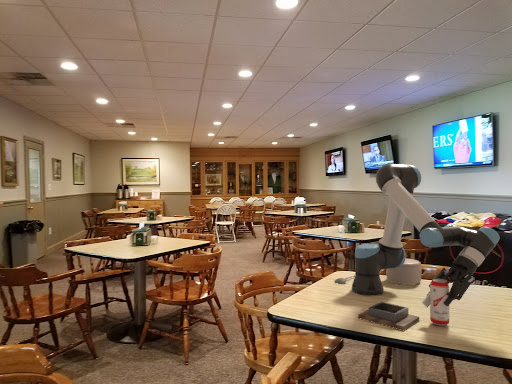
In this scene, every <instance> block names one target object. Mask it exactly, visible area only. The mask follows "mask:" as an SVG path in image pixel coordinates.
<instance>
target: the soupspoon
mask: <svg viewBox="0 0 512 384" xmlns="http://www.w3.org/2000/svg"><path fill="white" fill-rule="evenodd" d="M351 278H355V275H353V276H348V277H345V278H344V277H339V278H337V279H335V280H334V282H335V283H334V284H336V283H338V284H337V285H344V284H346V283H347V281H348V279H351Z"/></svg>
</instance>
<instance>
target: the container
mask: <svg viewBox="0 0 512 384" xmlns="http://www.w3.org/2000/svg"><path fill="white" fill-rule="evenodd" d="M385 270H386V272H385V274H386V279H387V280H389V282H391V283H392V284H396V285H404V286H412V285H417V284H419V283H420V282H422V263H421V261H419V260H417V259H413V258H406V259H405V262H404V263H403V265H401V266H400V267H396V268H392V269H391V268H389V269H385Z"/></svg>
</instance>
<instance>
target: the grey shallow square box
mask: <svg viewBox="0 0 512 384" xmlns="http://www.w3.org/2000/svg"><path fill="white" fill-rule="evenodd" d="M367 310H368V316H372V317H376V318H380V319H383V320H387V321H391V322H395V323H397V322H398V321H400V320H402V319H403V318H405V317H407V316H408V314H409V307H407V306H403V305H398V304H393V303H389V302H386V301H385V302H384V301H379V302H378V303H375V304H373V305H371V306H369V307H367ZM383 310H384V311H383ZM387 311H388V312H387ZM391 312H393V313H391Z"/></svg>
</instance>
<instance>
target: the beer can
mask: <svg viewBox="0 0 512 384" xmlns="http://www.w3.org/2000/svg"><path fill="white" fill-rule="evenodd" d="M429 285H430V287H429V292H430V305H429V308H430V309H429V314H430V315H429V316H430V317H429V319H430V322H431V323H433V324H434V325H436V326H439V327H444V326H446V327H447V326H448V325H449V323H450V305H449V306H447V307H446V308H445V309H444V311H443V312H442V313H441V314H440V313H439V312H438V311H437V310H436V309H435V308H436V306H437V305H438V304H439V302H440V301H441V300H442V299H443V297H444V296H445V295H448V294H447V293H449V292H450V285H449V284H448V283H447V280H444V279H435V278H432V279H431V281H430V283H429ZM448 296H449V295H448Z"/></svg>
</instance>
